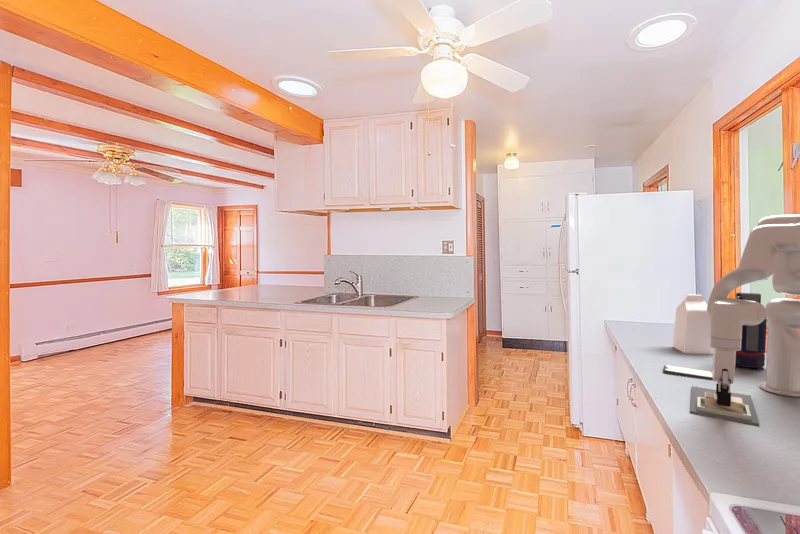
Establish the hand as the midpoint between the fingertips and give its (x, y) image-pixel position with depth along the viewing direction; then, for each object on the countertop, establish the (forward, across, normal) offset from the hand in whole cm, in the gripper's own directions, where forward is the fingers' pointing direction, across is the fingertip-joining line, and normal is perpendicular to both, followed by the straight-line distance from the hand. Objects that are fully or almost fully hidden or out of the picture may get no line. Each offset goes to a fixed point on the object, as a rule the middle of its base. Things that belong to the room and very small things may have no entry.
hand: (723, 400), depth 129 cm
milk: (+4, -80, -9) cm, 80 cm away
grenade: (+4, -61, +10) cm, 62 cm away
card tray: (+3, 0, 0) cm, 3 cm away
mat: (+3, -6, 0) cm, 7 cm away
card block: (+3, 0, 0) cm, 3 cm away
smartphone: (+4, -38, -9) cm, 39 cm away
